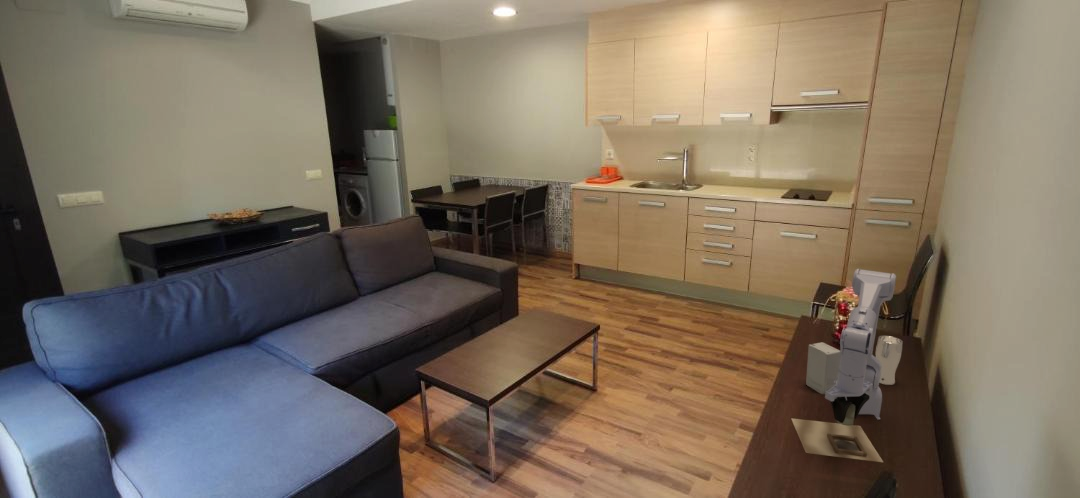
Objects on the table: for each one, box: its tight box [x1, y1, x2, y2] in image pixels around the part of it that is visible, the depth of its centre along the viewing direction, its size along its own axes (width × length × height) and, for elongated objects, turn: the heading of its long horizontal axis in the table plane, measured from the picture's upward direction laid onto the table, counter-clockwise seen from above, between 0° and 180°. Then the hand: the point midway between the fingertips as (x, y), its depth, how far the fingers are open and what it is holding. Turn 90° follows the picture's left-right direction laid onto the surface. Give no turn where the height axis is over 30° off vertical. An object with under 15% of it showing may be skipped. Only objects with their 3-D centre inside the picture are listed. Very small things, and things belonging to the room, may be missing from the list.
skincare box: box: [805, 342, 841, 395], centre depth 159 cm, size 8×6×15 cm
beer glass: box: [875, 335, 904, 386], centre depth 163 cm, size 7×7×15 cm
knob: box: [836, 403, 855, 426], centre depth 129 cm, size 4×4×5 cm
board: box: [790, 418, 884, 463], centre depth 134 cm, size 18×16×2 cm
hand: (845, 418), depth 130 cm, fingers closed on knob, 4 cm apart
